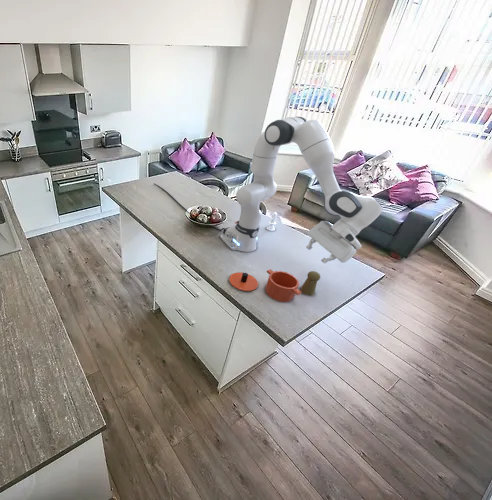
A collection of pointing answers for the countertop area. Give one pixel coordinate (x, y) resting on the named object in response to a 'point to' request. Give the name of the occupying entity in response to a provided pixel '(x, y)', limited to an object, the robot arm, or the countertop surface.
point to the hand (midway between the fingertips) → (314, 255)
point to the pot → (282, 286)
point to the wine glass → (272, 222)
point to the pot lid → (243, 281)
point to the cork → (310, 283)
